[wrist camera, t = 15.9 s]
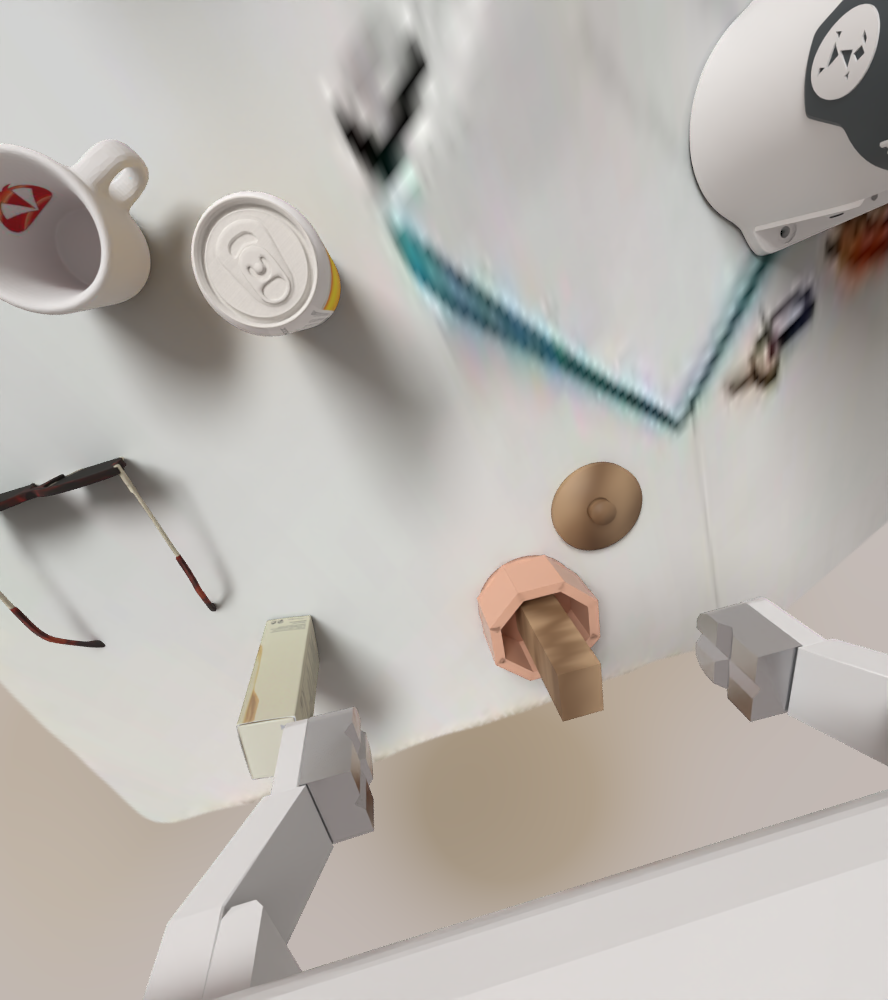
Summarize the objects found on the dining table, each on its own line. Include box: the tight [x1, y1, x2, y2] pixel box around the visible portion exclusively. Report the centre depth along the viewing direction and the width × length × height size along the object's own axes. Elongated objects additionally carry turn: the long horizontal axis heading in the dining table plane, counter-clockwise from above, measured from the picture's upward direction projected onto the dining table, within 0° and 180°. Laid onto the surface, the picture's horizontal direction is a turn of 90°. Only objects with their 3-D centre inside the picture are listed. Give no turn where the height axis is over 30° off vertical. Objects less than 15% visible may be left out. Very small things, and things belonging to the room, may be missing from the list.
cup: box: [0, 139, 151, 315], centre depth 28 cm, size 11×8×8 cm
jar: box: [477, 555, 600, 681], centre depth 46 cm, size 11×11×6 cm
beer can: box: [191, 191, 341, 336], centre depth 27 cm, size 6×6×15 cm
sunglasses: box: [0, 457, 216, 647], centre depth 38 cm, size 14×16×5 cm
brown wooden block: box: [515, 594, 603, 721], centre depth 42 cm, size 4×5×12 cm
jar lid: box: [551, 462, 642, 550], centre depth 45 cm, size 9×9×2 cm
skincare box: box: [236, 616, 319, 780], centre depth 40 cm, size 6×4×12 cm
